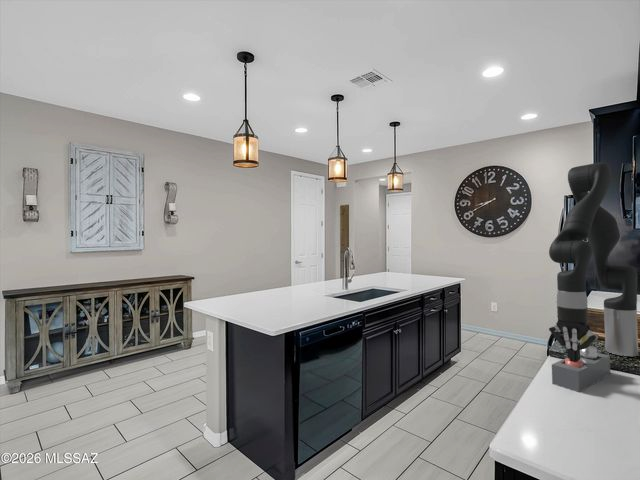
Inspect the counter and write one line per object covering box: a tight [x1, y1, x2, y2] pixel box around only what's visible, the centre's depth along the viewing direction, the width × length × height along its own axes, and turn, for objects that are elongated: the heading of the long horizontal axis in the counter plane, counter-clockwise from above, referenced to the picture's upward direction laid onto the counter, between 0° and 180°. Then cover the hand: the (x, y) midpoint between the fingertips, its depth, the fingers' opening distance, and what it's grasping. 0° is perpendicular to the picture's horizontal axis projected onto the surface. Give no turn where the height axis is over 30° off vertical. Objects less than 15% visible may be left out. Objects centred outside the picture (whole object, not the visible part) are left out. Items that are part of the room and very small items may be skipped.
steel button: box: [580, 345, 598, 361], centre depth 108 cm, size 4×4×5 cm
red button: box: [564, 357, 583, 368], centre depth 103 cm, size 4×4×5 cm
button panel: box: [551, 352, 611, 393], centre depth 106 cm, size 22×7×6 cm, turn 121°
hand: (573, 360), depth 103 cm, fingers closed
